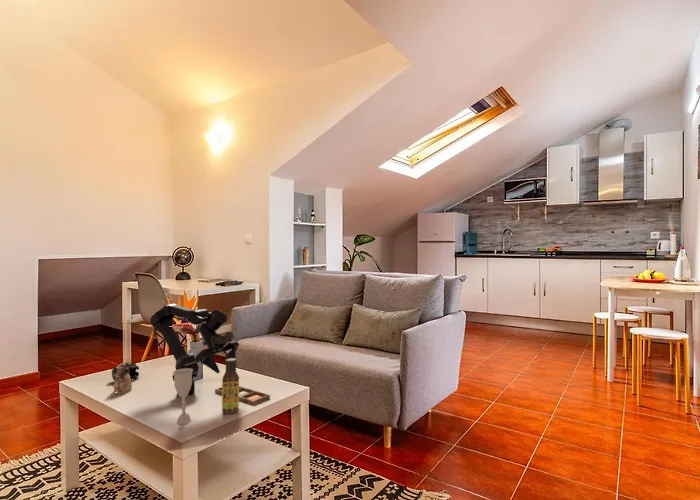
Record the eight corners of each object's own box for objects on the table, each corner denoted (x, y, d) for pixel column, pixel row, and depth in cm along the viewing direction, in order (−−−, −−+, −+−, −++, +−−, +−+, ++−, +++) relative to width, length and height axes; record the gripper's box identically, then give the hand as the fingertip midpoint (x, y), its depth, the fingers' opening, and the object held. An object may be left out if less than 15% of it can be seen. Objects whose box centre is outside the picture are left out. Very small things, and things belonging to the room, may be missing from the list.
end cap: (133, 375, 208) (132, 362, 208) (140, 378, 204) (139, 364, 204) (111, 381, 201) (111, 366, 200) (118, 384, 196) (118, 369, 196)
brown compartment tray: (215, 392, 182) (215, 389, 182) (231, 387, 189) (231, 383, 189) (253, 405, 167) (253, 401, 167) (269, 398, 174) (269, 394, 174)
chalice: (177, 417, 156) (176, 368, 156) (196, 416, 157) (195, 368, 156) (170, 425, 149) (169, 374, 149) (190, 424, 149) (189, 374, 149)
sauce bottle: (221, 415, 157) (220, 362, 157) (222, 409, 163) (221, 357, 163) (239, 413, 158) (238, 360, 158) (239, 407, 164) (238, 356, 164)
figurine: (111, 390, 187) (110, 363, 186) (128, 386, 192) (127, 360, 192) (116, 394, 182) (116, 366, 182) (134, 390, 187) (133, 363, 187)
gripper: (202, 330, 162) (221, 365, 158) (238, 322, 178) (255, 354, 174) (187, 345, 167) (204, 380, 162) (223, 336, 183) (239, 367, 178)
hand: (227, 369), depth 169 cm, fingers open, 9 cm apart
